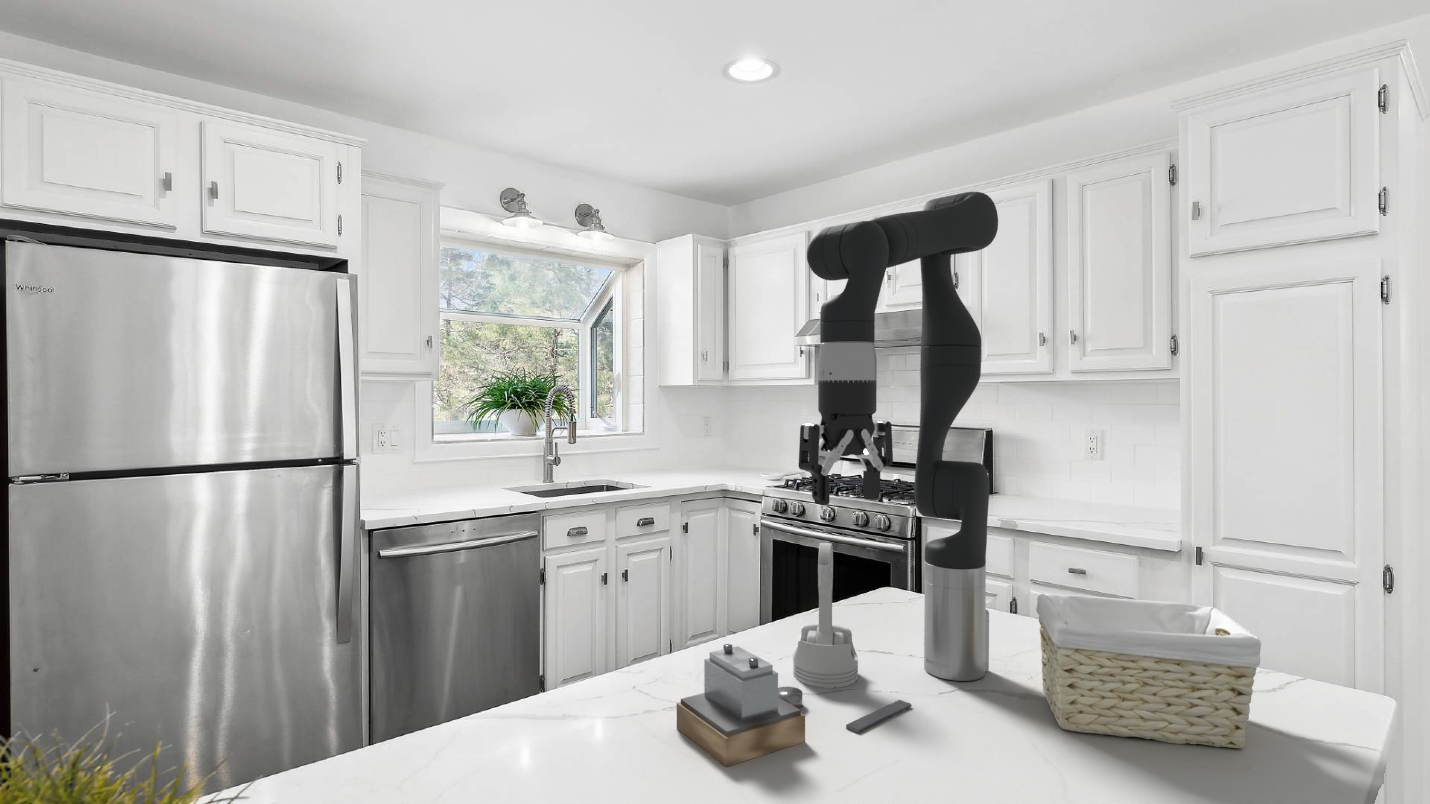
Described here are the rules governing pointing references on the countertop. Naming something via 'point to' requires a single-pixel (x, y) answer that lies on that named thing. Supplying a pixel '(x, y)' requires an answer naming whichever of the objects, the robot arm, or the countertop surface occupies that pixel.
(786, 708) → the stand
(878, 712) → the bar
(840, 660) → the engine component
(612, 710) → the countertop surface
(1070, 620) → the storage basket
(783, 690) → the dark grey domed cap
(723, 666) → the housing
